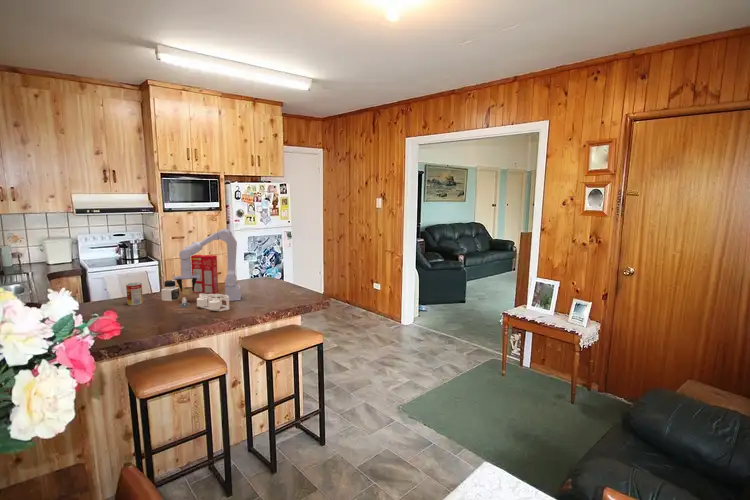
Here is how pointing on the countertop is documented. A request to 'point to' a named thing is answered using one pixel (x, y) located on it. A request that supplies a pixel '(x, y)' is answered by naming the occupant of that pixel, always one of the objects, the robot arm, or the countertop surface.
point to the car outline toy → (212, 302)
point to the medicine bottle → (170, 291)
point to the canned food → (134, 293)
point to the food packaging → (205, 273)
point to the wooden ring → (187, 290)
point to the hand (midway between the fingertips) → (187, 290)
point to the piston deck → (184, 303)
